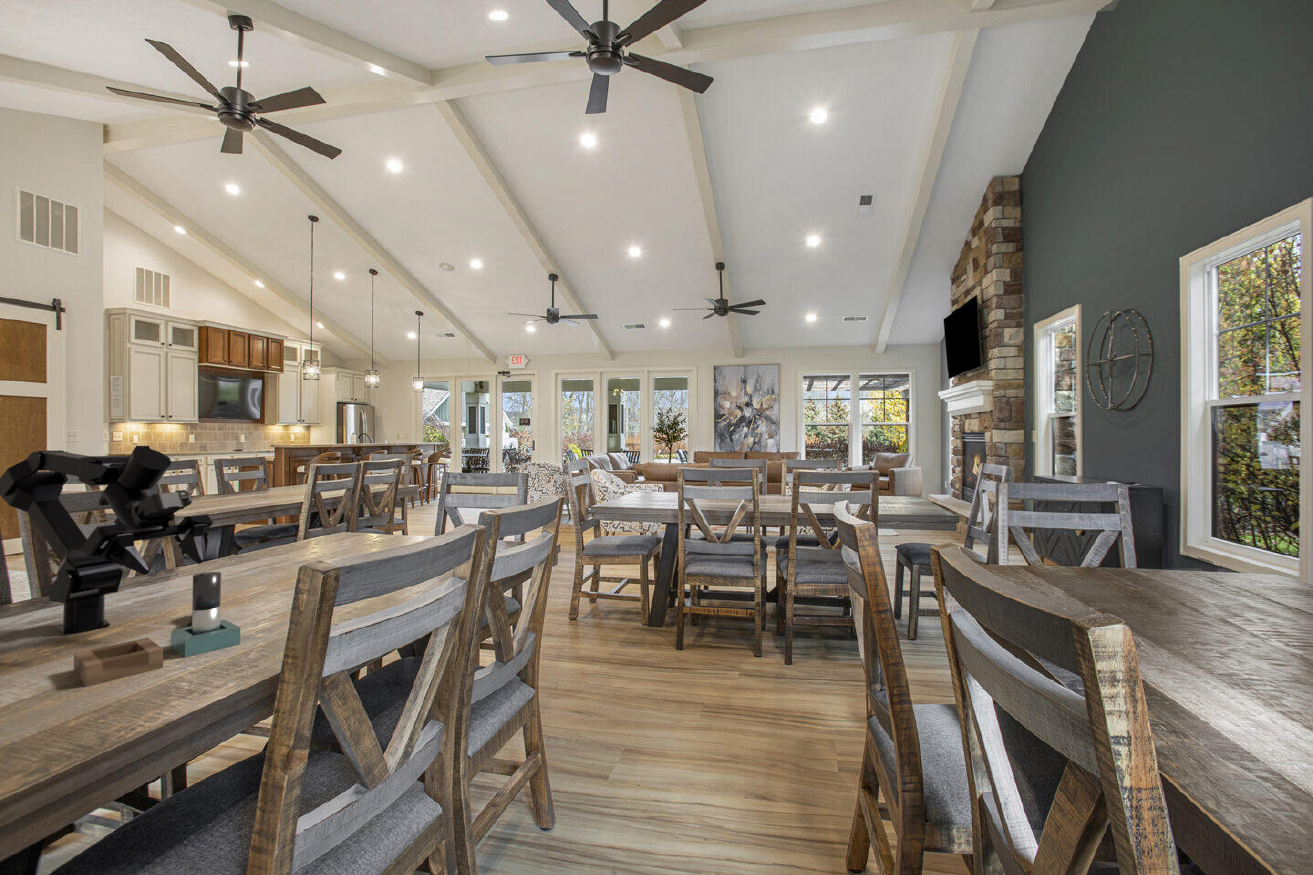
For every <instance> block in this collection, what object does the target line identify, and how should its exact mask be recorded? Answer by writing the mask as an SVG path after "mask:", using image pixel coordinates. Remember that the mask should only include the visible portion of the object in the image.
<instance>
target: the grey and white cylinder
mask: <svg viewBox="0 0 1313 875" xmlns="http://www.w3.org/2000/svg"><path fill="white" fill-rule="evenodd" d="M221 584H222V572H221V571H207V572H200V573H196V574H194V575H193V576H192V605H191V606H192V607H191V609H192V610H191V618H192V635H193V636H194V635H199V634H204V633H208V632H213V631H217V630H220V620H221V600H222V599H221V592H222V590H221V589H222V585H221Z"/></svg>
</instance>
